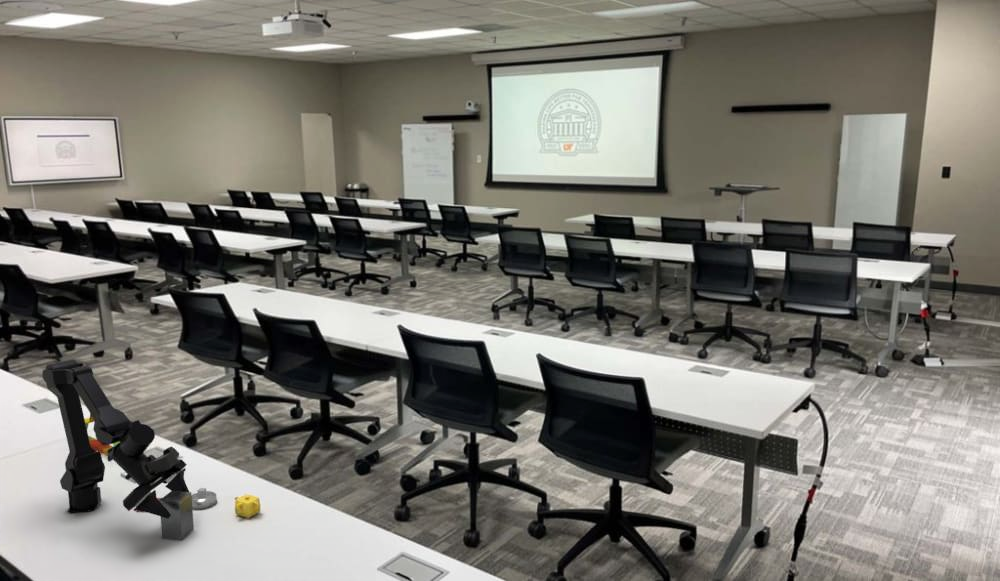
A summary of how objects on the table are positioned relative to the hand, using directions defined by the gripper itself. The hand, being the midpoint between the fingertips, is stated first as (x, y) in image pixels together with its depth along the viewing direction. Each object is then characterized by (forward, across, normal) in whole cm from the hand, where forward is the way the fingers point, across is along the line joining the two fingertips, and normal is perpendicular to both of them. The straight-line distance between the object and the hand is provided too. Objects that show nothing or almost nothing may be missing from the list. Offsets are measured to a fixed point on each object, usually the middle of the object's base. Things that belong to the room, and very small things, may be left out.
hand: (180, 508), depth 178 cm
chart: (-33, +45, +43) cm, 70 cm away
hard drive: (-16, +32, +26) cm, 45 cm away
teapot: (+13, +12, -2) cm, 17 cm away
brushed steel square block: (+4, 0, +6) cm, 7 cm away
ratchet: (-2, +14, +12) cm, 18 cm away
